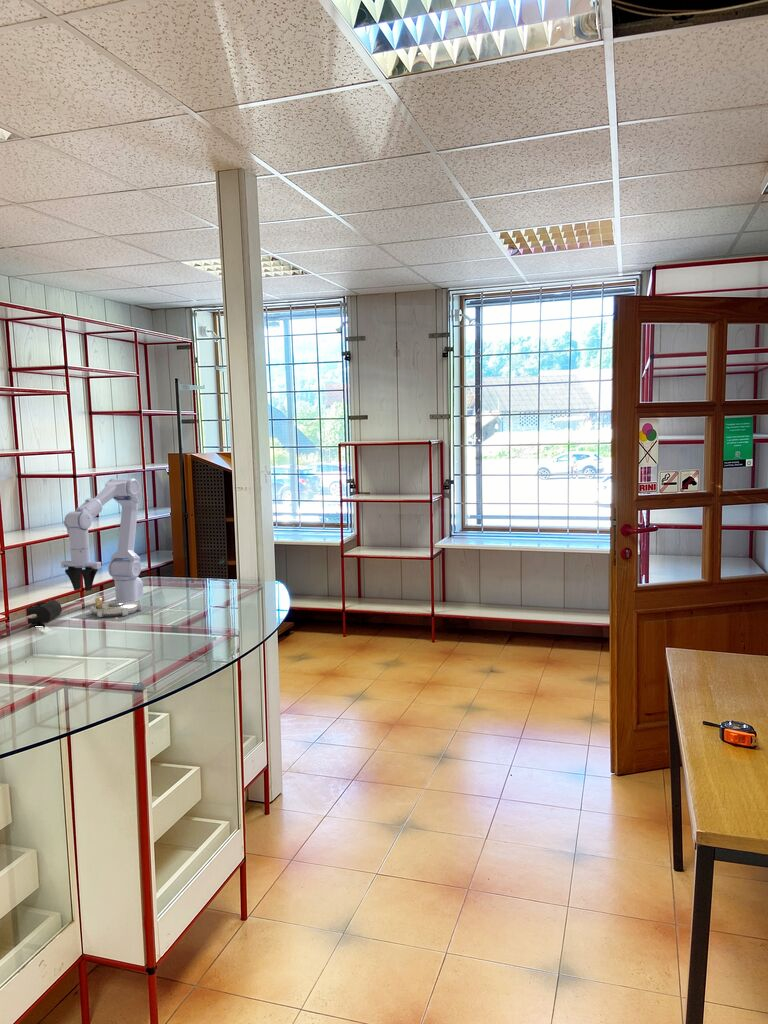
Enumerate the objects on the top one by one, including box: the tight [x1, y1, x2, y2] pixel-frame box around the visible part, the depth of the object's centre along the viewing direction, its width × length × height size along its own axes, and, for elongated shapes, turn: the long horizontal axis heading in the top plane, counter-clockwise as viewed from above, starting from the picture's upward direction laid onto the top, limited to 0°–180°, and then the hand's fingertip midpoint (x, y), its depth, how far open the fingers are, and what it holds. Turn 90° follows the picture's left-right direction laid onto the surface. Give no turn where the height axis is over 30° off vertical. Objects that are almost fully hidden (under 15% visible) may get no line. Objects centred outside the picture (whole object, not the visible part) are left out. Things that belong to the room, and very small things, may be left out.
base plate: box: [70, 605, 161, 622], centre depth 237 cm, size 20×20×2 cm
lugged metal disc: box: [90, 597, 143, 617], centre depth 236 cm, size 14×16×5 cm
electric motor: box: [26, 599, 63, 628], centre depth 230 cm, size 10×7×7 cm
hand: (82, 590), depth 235 cm, fingers open, 4 cm apart
